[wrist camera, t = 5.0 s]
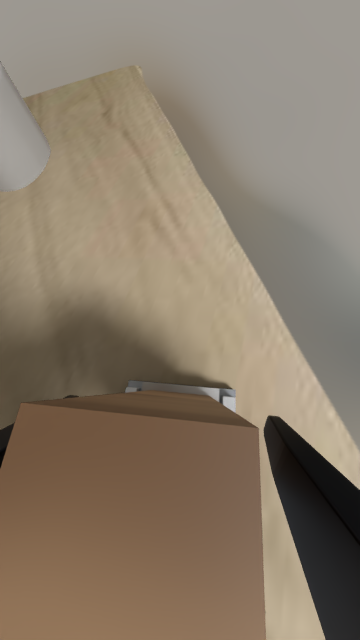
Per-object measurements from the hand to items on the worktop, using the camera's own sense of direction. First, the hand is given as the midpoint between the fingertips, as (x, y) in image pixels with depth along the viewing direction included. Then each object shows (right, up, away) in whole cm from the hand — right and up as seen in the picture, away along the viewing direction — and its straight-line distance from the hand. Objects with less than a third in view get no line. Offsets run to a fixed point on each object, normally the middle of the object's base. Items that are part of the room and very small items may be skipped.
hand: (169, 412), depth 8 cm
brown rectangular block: (0, -4, +6) cm, 7 cm away
